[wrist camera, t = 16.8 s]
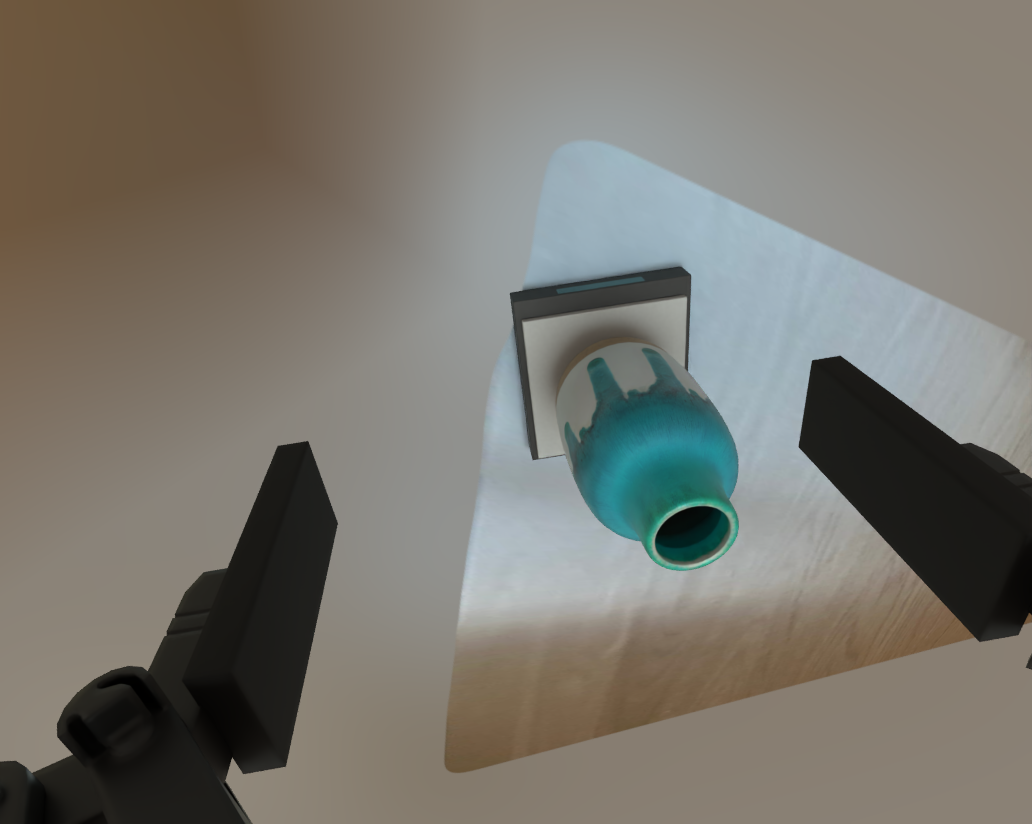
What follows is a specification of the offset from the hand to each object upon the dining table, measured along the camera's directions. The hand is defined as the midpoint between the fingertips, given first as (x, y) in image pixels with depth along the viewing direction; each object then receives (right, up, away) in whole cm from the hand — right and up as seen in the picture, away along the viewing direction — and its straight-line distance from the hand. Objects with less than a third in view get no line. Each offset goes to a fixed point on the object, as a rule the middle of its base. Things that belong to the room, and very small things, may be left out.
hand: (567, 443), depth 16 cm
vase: (+6, +4, +34) cm, 34 cm away
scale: (+6, +5, +36) cm, 37 cm away
